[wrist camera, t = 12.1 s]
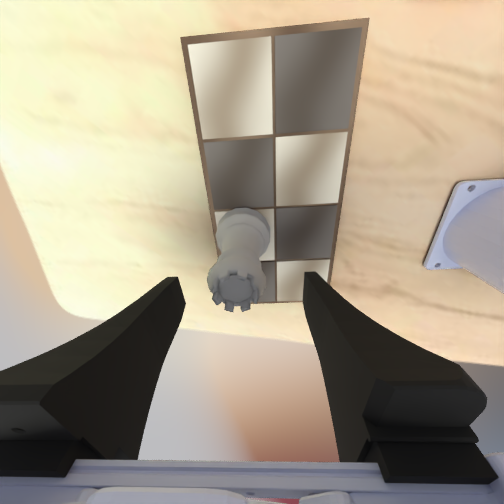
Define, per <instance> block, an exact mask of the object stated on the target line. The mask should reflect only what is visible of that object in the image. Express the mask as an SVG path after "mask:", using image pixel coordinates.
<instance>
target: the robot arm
mask: <svg viewBox="0 0 504 504" xmlns="http://www.w3.org/2000/svg"><path fill="white" fill-rule="evenodd" d="M469 186H471V187H470V189H468V188H469ZM435 264H436V265H435ZM424 267H425V268H426V269H429V270H432V269H457V268H464V269H466V270H467V271H469V272H471V273H472V274H474V275H475V276H477V277H478V278H480V279H482V280H483V281H485V282H486V283H488V284H489V285H491V286H492V287H494V288H496V289H497V290H499V291H500V292H502V293H503V294H504V179H488V180H472V181H462V182H459V183H458V184H457V185H456V186H455V188H454V190H453V192H452V195H451V197H450V200H449V202H448V205H447V207H446V210H445V212H444V215H443V217H442V220H441V222H440V225H439V227H438V230H437V232H436V235H435V237H434V239H433V242H432V244H431V247H430V249H429V252H428V254H427V257H426V259H425V262H424ZM185 305H186V303H185V299H184V296H183V292H182V289H181V286H180V282H179V279H178V277H167V278H165V279H164V280H163V281H161V282H160V283H159V284H157V285H156V286H155V287H153V288H152V289H151V290H149V291H148V292H147V293H146V294H144V295H143V296H142V297H140V298H139V299H138V300H136V301H135V302H134V303H132V304H131V305H129V306H128V307H126V308H125V309H124V310H122V311H121V312H119V313H118V314H116V315H115V316H113V317H112V318H110V319H108V320H107V321H105V322H104V323H102V324H101V325H99V326H97V327H95V328H93V329H92V330H90V331H88V332H86V333H84V334H82V335H80V336H78V337H77V338H75V339H73V340H71V341H69V342H67V343H65V344H63V345H61V346H59V347H57V348H54V349H52V350H50V351H48V352H46V353H43V354H41V355H39V356H37V357H34V358H32V359H29V360H27V361H24V362H22V363H20V364H17V365H15V366H12V367H10V368H7V369H5V370H2V371H0V504H285V503H277V502H269V501H260V500H252V499H246V498H245V497H248V498H249V497H250V498H251V497H252V498H298V499H300V500H299V504H504V453H492V454H487V455H485V456H484V455H483V454H482V453H481V451H480V450H479V448H478V447H477V446H476V444H475V443H477V442H478V441H479V440H478V437H477V436H476V434H475V433H474V432H473V430H472V429H471V427H470V426H469V425H470V424H471V423H472V422H473V421H474V420H475V419H476V418H477V417H478V416H479V415H480V414H481V413H482V412H483V410H484V409H485V407H486V404H487V397H486V395H485V394H484V392H483V391H482V390H481V389H480V388H479V387H478V385H477V384H476V383H475V382H474V381H473V380H472V379H471V377H470V376H469V375H468V374H467V373H466V372H465V371H464V370H463V369H462V368H461V366H460V365H458V364H456V363H454V362H452V361H449V360H447V359H445V358H443V357H441V356H438V355H436V354H434V353H432V352H430V351H427V350H425V349H423V348H421V347H419V346H417V345H415V344H414V343H412V342H410V341H408V340H406V339H404V338H402V337H400V336H399V335H397V334H395V333H393V332H392V331H390V330H388V329H387V328H385V327H383V326H382V325H380V324H378V323H377V322H375V321H374V320H372V319H371V318H369V317H368V316H366V315H365V314H364V313H362V312H361V311H359V310H358V309H357V308H355V307H354V306H353V305H352V304H350V303H349V302H348V301H347V300H345V299H344V298H343V297H342V296H341V295H340V294H339V293H337V292H336V291H335V290H334V289H333V288H332V287H331V286H330V285H329V284H328V283H327V282H326V281H325V280H324V279H323V278H322V277H321V276H320V275H319V274H318V273H317V272H316V271H311V272H304V285H303V305H304V311H305V316H306V319H307V322H308V325H309V328H310V331H311V334H312V338H313V341H314V344H315V347H316V350H317V353H318V356H319V360H320V364H321V368H322V373H323V377H324V382H325V386H326V391H327V396H328V401H329V406H330V411H331V416H332V421H333V426H334V431H335V437H336V443H337V448H338V454H339V460H340V462H263V461H262V462H261V461H176V460H174V461H173V460H138V455H139V450H140V446H141V441H142V437H143V433H144V429H145V425H146V421H147V417H148V413H149V409H150V405H151V402H152V398H153V394H154V391H155V388H156V384H157V381H158V378H159V374H160V372H161V368H162V365H163V363H164V360H165V357H166V355H167V352H168V350H169V348H170V345H171V343H172V341H173V339H174V336H175V334H176V332H177V329H178V327H179V324H180V322H181V319H182V316H183V312H184V309H185Z"/></svg>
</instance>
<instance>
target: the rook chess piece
mask: <svg viewBox="0 0 504 504" xmlns="http://www.w3.org/2000/svg"><path fill="white" fill-rule="evenodd" d="M216 240H217V245H218V248H219V249H220V251H221V252H222V254H221V255H220V256H219V257H218V259H217V263H216V264H215V265H214V266H213V267H212V268H211V269H210V270H209V274H208V277H207V282H208V286H209V289H210V290H211V291H210V292H212V293H213V297H212V300H213V301H214V302H215V304H216V305H218V304H220V303H221V301H222V302H223V303H225V309H224V310H226V311H230V312H233V309H234V306H241V310H242V312H244V311H246V310H249V309H250V304H251V303H252V302H253V303H255V304H257V302H258V300H259V297H260V296H261V295H262V294H263V292H264V290H265V288H266V276H265V274H264V273H263V271H262V267H261V261H260V260H259V258H260V257H261V256H262V255H263V254H264V253H265V252H266V250H267V248H268V245H269V243H270V226H269V224H268V222H267V220H266V218H265V217H264V216H262V215H261V214H260V213H259V212H258V211H255V210H252V209H249V208H235V209H233V210H231V211H229V212H227V213H225V215H224V216H223V217H222V218H221V219H220V221H219V224H218V227H217V232H216Z"/></svg>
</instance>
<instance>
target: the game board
mask: <svg viewBox="0 0 504 504" xmlns="http://www.w3.org/2000/svg"><path fill="white" fill-rule="evenodd" d="M368 25H369V18H362V19H353V20H343V21H333V22H324V23H314V24H304V25H294V26H285V27H275V28H265V29H256V30H246V31H236V32H227V33H217V34H207V35H197V36H188V37H180V38H181V44H182V50H183V56H184V62H185V68H186V73H187V79H188V85H189V91H190V97H191V103H192V109H193V114H194V120H195V126H196V132H197V138H198V144H199V150H200V155H201V161H202V167H203V173H204V179H205V185H206V190H207V196H208V202H209V208H210V214H211V220H212V226H213V231H214V237H215V243H216V249H217V255H218V257H219V256H220V255H221V254H222V252H221V251H220V249H219V248H218V245H217V240H216V232H217V227H218V224H219V221H220V219H221V218H222V217H223V216H224V215H225V213H227V212H229V211H231V210H233V209H235V208H249V209H252V210H255V211H258V212H259V213H260V214H261V215H262V216H264V217H265V218H266V220H267V222H268V224H269V226H270V243H269V245H268V248H267V250H266V252H265V253H264V254H263V255H262V256H261V257H260V258H259V260H260V261H261V267H262V271H263V273H264V274H265V276H266V288H265V290H264V292H263V294H262V295H261V296H260V297H259V300H258V302H257V304H259V303H289V302H303V285H304V272H311V271H316V272H317V273H318V274H319V275H320V276H321V277H322V278H323V279H324V280H325V281H326V282H327V283H328V284H329V285H330V281H331V274H332V268H333V261H334V254H335V247H336V241H337V234H338V227H339V220H340V214H341V207H342V200H343V193H344V187H345V180H346V173H347V166H348V160H349V153H350V146H351V139H352V133H353V126H354V119H355V112H356V106H357V99H358V92H359V85H360V79H361V72H362V65H363V58H364V52H365V45H366V38H367V32H368ZM251 304H255V303H253V302H252V303H251Z"/></svg>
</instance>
